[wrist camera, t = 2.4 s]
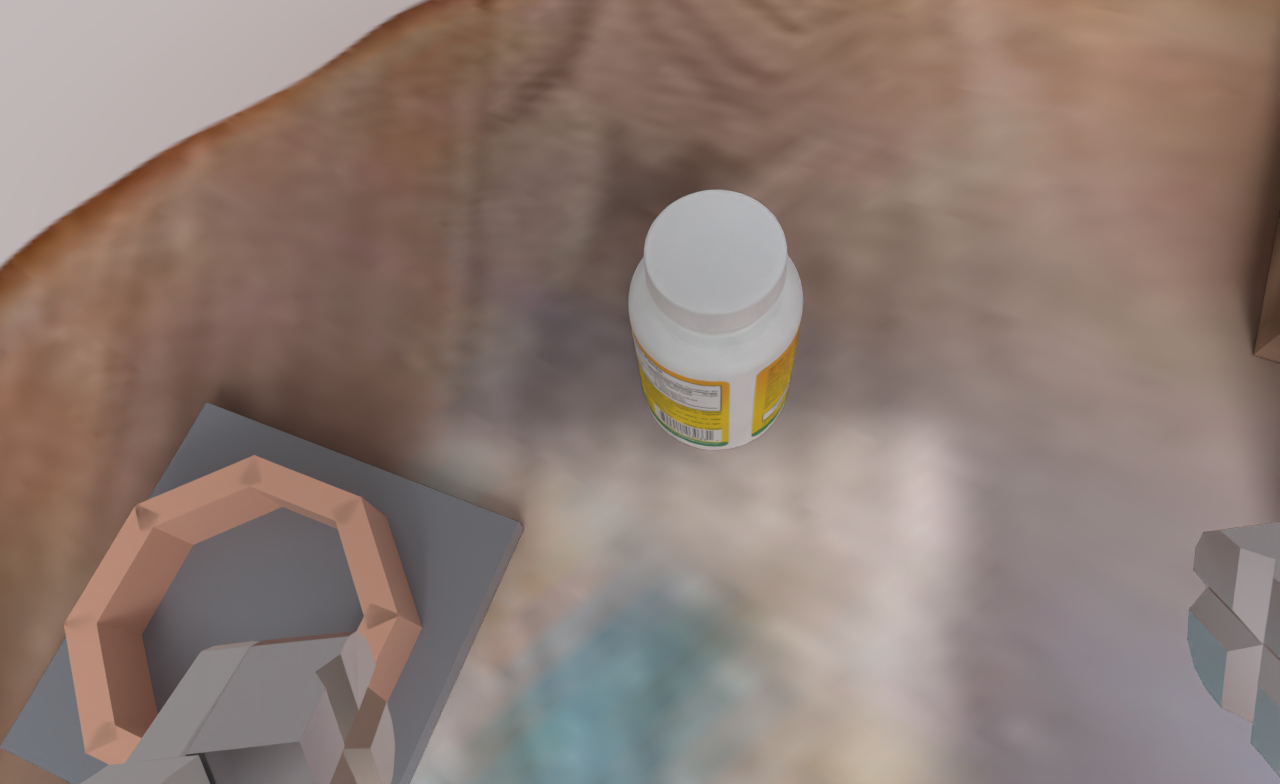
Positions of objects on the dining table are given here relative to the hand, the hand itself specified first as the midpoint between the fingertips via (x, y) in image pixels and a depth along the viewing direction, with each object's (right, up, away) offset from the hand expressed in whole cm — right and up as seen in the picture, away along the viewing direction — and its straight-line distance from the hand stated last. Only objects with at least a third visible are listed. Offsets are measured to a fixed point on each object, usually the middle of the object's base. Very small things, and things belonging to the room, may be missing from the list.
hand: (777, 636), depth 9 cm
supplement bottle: (+2, +3, +26) cm, 26 cm away
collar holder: (-14, -6, +23) cm, 28 cm away
